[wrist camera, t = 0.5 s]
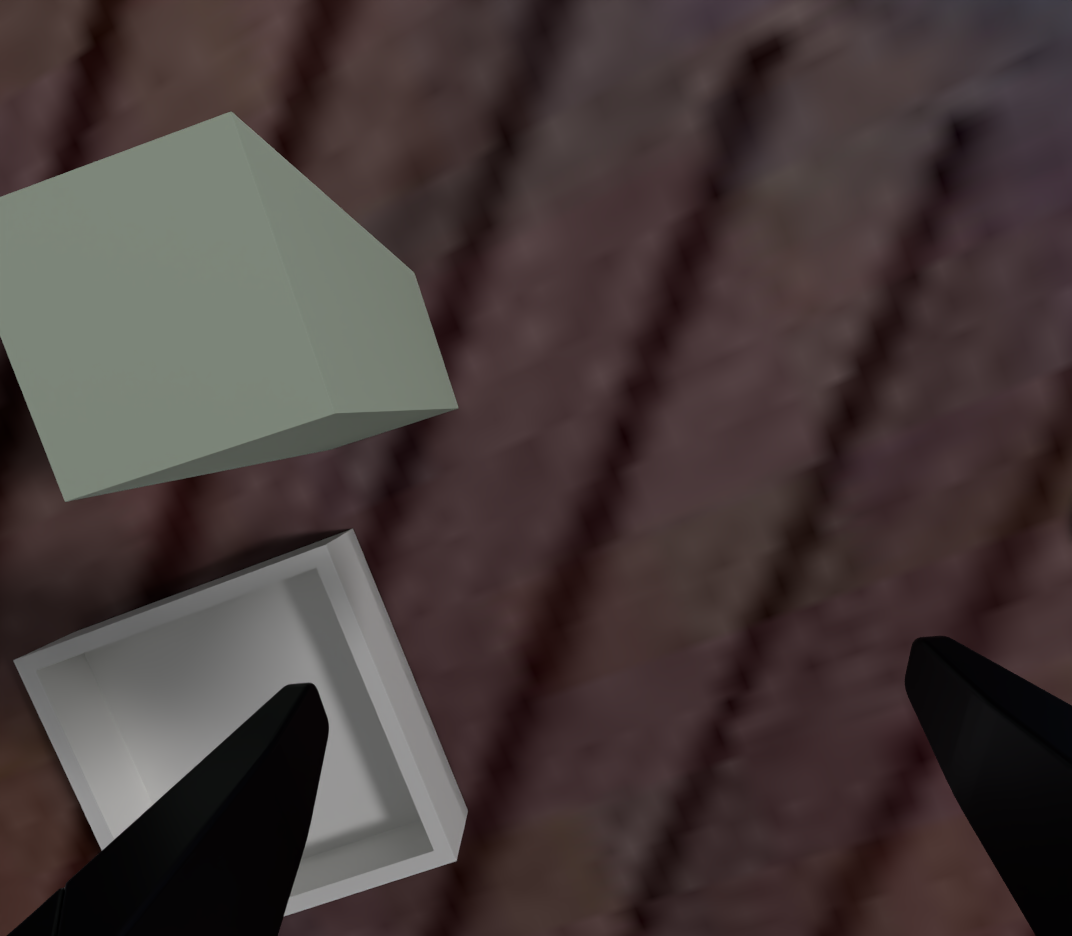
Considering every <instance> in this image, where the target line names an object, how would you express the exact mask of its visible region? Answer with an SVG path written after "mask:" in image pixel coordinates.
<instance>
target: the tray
mask: <svg viewBox="0 0 1072 936" xmlns="http://www.w3.org/2000/svg"><path fill="white" fill-rule="evenodd" d="M13 661H14V663H15V666H16V668H17V670H18V672H19V674H20V676H21V678H22V681H23V683H24V685H25V687H26V689H27V691H28V693H29V696H30V698H31V700H32V702H33V704H34V706H35V708H36V711H37V713H38V715H39V717H40V719H41V721H42V723H43V726H44V728H45V730H46V732H47V734H48V736H49V738H50V741H51V743H52V745H53V747H54V749H55V751H56V753H57V756H58V758H59V760H60V762H61V764H62V766H63V768H64V771H65V773H66V775H67V777H68V779H69V781H70V783H71V786H72V788H73V790H74V792H75V794H76V796H77V798H78V801H79V803H80V805H81V807H82V809H83V811H84V813H85V816H86V818H87V820H88V822H89V824H90V826H91V828H92V831H93V833H94V835H95V837H96V839H97V841H98V843H99V846H100V848H101V850H103V849H104V848H105V847H107V846H108V845H109V844H110V843H111V842H112V841H113V840H114V839H115V838H117V837H118V836H119V835H120V834H121V833H122V832H123V831H124V830H125V829H127V828H128V827H129V826H130V825H131V824H132V823H133V822H134V821H135V820H136V819H138V818H139V817H140V816H141V815H142V814H143V813H144V812H145V811H146V810H148V809H149V808H150V807H151V806H152V805H153V804H154V803H155V802H156V801H158V800H159V799H160V798H161V797H162V796H163V795H164V794H165V793H166V792H167V791H169V790H170V789H171V788H172V787H173V786H174V785H175V784H176V783H177V782H179V781H180V780H181V779H182V778H183V777H184V776H185V775H186V774H187V773H189V772H190V771H191V770H192V769H193V768H194V767H195V766H196V765H197V764H199V763H200V762H201V761H202V760H203V759H204V758H205V757H206V756H207V755H208V754H210V753H211V752H212V751H213V750H214V749H215V748H216V747H217V746H218V745H220V744H221V743H222V742H223V741H224V740H225V739H226V738H227V737H228V736H230V735H231V734H232V733H233V732H234V731H235V730H236V729H237V728H238V727H240V726H241V725H242V724H243V723H244V722H245V721H246V720H247V719H248V718H249V717H251V716H252V715H253V714H254V713H255V712H256V711H257V710H258V709H259V708H261V707H262V706H263V705H264V704H265V703H266V702H267V701H268V700H269V699H271V698H272V697H273V696H274V695H275V694H276V693H277V692H278V691H279V690H280V689H282V688H283V687H284V686H286V685H288V684H296V683H313V684H314V685H315V686H316V687H317V689H318V692H319V695H320V698H321V701H322V703H323V706H324V709H325V712H326V715H327V718H328V722H329V735H328V741H327V746H326V751H325V756H324V761H323V766H322V771H321V776H320V781H319V785H318V790H317V795H316V800H315V805H314V810H313V815H312V820H311V825H310V829H309V833H308V838H307V841H306V845H305V848H304V852H303V855H302V858H301V862H300V865H299V868H298V871H297V875H296V878H295V881H294V884H293V888H292V891H291V894H290V897H289V900H288V904H287V907H286V910H285V913H284V916H286V915H290V914H293V913H296V912H299V911H302V910H305V909H308V908H311V907H314V906H318V905H321V904H324V903H327V902H330V901H333V900H336V899H339V898H342V897H346V896H349V895H352V894H355V893H358V892H361V891H364V890H367V889H371V888H374V887H377V886H380V885H383V884H386V883H389V882H392V881H395V880H399V879H402V878H405V877H408V876H411V875H414V874H417V873H420V872H423V871H427V870H430V869H433V868H436V867H439V866H442V865H445V864H448V863H452V862H455V861H457V856H458V852H459V848H460V843H461V839H462V835H463V830H464V826H465V822H466V817H467V813H468V810H467V807H466V805H465V802H464V800H463V797H462V795H461V793H460V790H459V788H458V785H457V783H456V780H455V778H454V775H453V773H452V770H451V768H450V766H449V763H448V761H447V758H446V756H445V753H444V751H443V748H442V746H441V743H440V741H439V739H438V736H437V734H436V731H435V729H434V726H433V724H432V721H431V719H430V717H429V714H428V712H427V709H426V707H425V704H424V702H423V699H422V697H421V694H420V692H419V690H418V687H417V685H416V682H415V680H414V677H413V675H412V672H411V670H410V667H409V665H408V663H407V660H406V658H405V655H404V653H403V650H402V648H401V645H400V643H399V641H398V638H397V636H396V633H395V631H394V628H393V626H392V623H391V621H390V618H389V616H388V614H387V611H386V609H385V606H384V604H383V601H382V599H381V596H380V594H379V592H378V589H377V587H376V584H375V582H374V579H373V577H372V574H371V572H370V569H369V567H368V565H367V562H366V560H365V557H364V555H363V552H362V550H361V547H360V545H359V542H358V540H357V538H356V535H355V533H354V530H353V529H350V530H348V531H345V532H342V533H339V534H337V535H334V536H331V537H329V538H326V539H323V540H321V541H318V542H315V543H313V544H310V545H307V546H304V547H302V548H299V549H296V550H294V551H291V552H288V553H286V554H283V555H280V556H278V557H275V558H272V559H269V560H267V561H264V562H261V563H259V564H256V565H253V566H251V567H248V568H245V569H243V570H240V571H237V572H234V573H232V574H229V575H226V576H224V577H221V578H218V579H216V580H213V581H210V582H208V583H205V584H202V585H199V586H197V587H194V588H191V589H189V590H186V591H183V592H181V593H178V594H175V595H173V596H170V597H167V598H164V599H162V600H159V601H156V602H154V603H151V604H148V605H146V606H143V607H140V608H138V609H135V610H132V611H129V612H127V613H124V614H121V615H119V616H116V617H113V618H111V619H108V620H105V621H103V622H100V623H97V624H94V625H92V626H89V627H86V628H84V629H81V630H78V631H76V632H73V633H71V634H69V635H67V636H64V637H62V638H60V639H58V640H56V641H54V642H52V643H49V644H47V645H45V646H43V647H41V648H39V649H37V650H35V651H32V652H30V653H28V654H26V655H24V656H22V657H20V658H17V659H15V660H13Z"/></svg>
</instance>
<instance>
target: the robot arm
mask: <svg viewBox="0 0 1072 936" xmlns="http://www.w3.org/2000/svg"><path fill="white" fill-rule="evenodd" d="M905 688H906V692H907V695H908V698H909V700H910V702H911V704H912V706H913V708H914V711H915V713H916V715H917V717H918V719H919V721H920V724H921V726H922V728H923V730H924V732H925V734H926V737H927V739H928V741H929V743H930V745H931V747H932V750H933V752H934V754H935V756H936V758H937V760H938V763H939V765H940V767H941V769H942V771H943V773H944V776H945V778H946V780H947V782H948V784H949V786H950V788H951V790H952V792H953V794H954V796H955V798H956V800H957V802H958V803H959V805H960V807H961V809H962V811H963V812H964V814H965V816H966V818H967V819H968V821H969V823H970V824H971V826H972V828H973V830H974V831H975V833H976V835H977V836H978V838H979V840H980V841H981V843H982V845H983V847H984V848H985V850H986V852H987V853H988V855H989V857H990V858H991V860H992V862H993V864H994V865H995V867H996V869H997V870H998V872H999V874H1000V876H1001V877H1002V879H1003V881H1004V882H1005V884H1006V886H1007V887H1008V889H1009V891H1010V893H1011V894H1012V896H1013V898H1014V899H1015V901H1016V903H1017V904H1018V906H1019V908H1020V910H1021V911H1022V913H1023V915H1024V916H1025V918H1026V920H1027V922H1028V923H1029V925H1030V927H1031V928H1032V930H1033V932H1034V933H1035V935H1036V936H1072V705H1070V704H1068V703H1066V702H1064V701H1063V700H1061V699H1059V698H1057V697H1055V696H1054V695H1052V694H1050V693H1048V692H1046V691H1045V690H1043V689H1041V688H1039V687H1037V686H1036V685H1034V684H1032V683H1030V682H1028V681H1027V680H1025V679H1023V678H1021V677H1020V676H1018V675H1016V674H1014V673H1012V672H1011V671H1009V670H1007V669H1005V668H1003V667H1002V666H1000V665H998V664H996V663H994V662H993V661H991V660H989V659H987V658H985V657H984V656H982V655H980V654H978V653H976V652H975V651H973V650H971V649H969V648H967V647H966V646H964V645H962V644H960V643H958V642H957V641H955V640H953V639H951V638H949V637H946V636H932V637H920V638H917V639H916V640H915V641H914V642H913V644H912V647H911V652H910V656H909V661H908V665H907V670H906V675H905ZM328 735H329V722H328V718H327V715H326V712H325V709H324V706H323V703H322V701H321V698H320V695H319V692H318V689H317V687H316V686H315V685H314V684H313V683H296V684H288V685H286V686H284V687H283V688H282V689H280V690H279V691H278V692H277V693H276V694H275V695H274V696H273V697H272V698H271V699H269V700H268V701H267V702H266V703H265V704H264V705H263V706H262V707H261V708H259V709H258V710H257V711H256V712H255V713H254V714H253V715H252V716H251V717H249V718H248V719H247V720H246V721H245V722H244V723H243V724H242V725H241V726H240V727H238V728H237V729H236V730H235V731H234V732H233V733H232V734H231V735H230V736H228V737H227V738H226V739H225V740H224V741H223V742H222V743H221V744H220V745H218V746H217V747H216V748H215V749H214V750H213V751H212V752H211V753H210V754H208V755H207V756H206V757H205V758H204V759H203V760H202V761H201V762H200V763H199V764H197V765H196V766H195V767H194V768H193V769H192V770H191V771H190V772H189V773H187V774H186V775H185V776H184V777H183V778H182V779H181V780H180V781H179V782H177V783H176V784H175V785H174V786H173V787H172V788H171V789H170V790H169V791H167V792H166V793H165V794H164V795H163V796H162V797H161V798H160V799H159V800H158V801H156V802H155V803H154V804H153V805H152V806H151V807H150V808H149V809H148V810H146V811H145V812H144V813H143V814H142V815H141V816H140V817H139V818H138V819H136V820H135V821H134V822H133V823H132V824H131V825H130V826H129V827H128V828H127V829H125V830H124V831H123V832H122V833H121V834H120V835H119V836H118V837H117V838H115V839H114V840H113V841H112V842H111V843H110V844H109V845H108V846H107V847H105V848H104V849H103V850H102V851H101V852H100V853H99V854H98V855H97V856H95V857H94V858H93V859H92V860H91V861H90V862H89V863H88V864H87V865H86V866H84V867H83V868H82V869H81V870H80V871H79V872H78V873H77V874H76V875H74V876H73V877H72V878H71V879H70V880H69V881H68V882H67V883H66V886H65V888H60V889H59V890H58V891H56V892H55V893H54V894H53V895H52V896H51V897H50V898H49V899H48V900H46V901H45V902H44V903H43V904H42V905H41V906H40V907H39V908H38V909H37V910H35V911H34V912H33V913H32V914H31V915H30V916H29V917H28V918H26V919H25V920H24V921H23V922H22V923H21V924H20V925H18V926H17V927H16V928H15V929H14V930H13V931H12V932H10V933H9V934H8V935H7V936H278V933H279V930H280V926H281V923H282V920H283V917H284V913H285V910H286V907H287V904H288V900H289V897H290V894H291V891H292V888H293V884H294V881H295V878H296V875H297V871H298V868H299V865H300V862H301V858H302V855H303V852H304V848H305V845H306V841H307V838H308V833H309V829H310V825H311V820H312V815H313V810H314V805H315V800H316V795H317V790H318V785H319V781H320V776H321V771H322V766H323V761H324V756H325V751H326V746H327V741H328Z"/></svg>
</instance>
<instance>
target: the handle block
mask: <svg viewBox="0 0 1072 936" xmlns="http://www.w3.org/2000/svg"><path fill="white" fill-rule="evenodd" d="M0 337H1V339H2V342H3V344H4V347H5V349H6V352H7V355H8V357H9V360H10V362H11V365H12V367H13V370H14V372H15V375H16V378H17V380H18V383H19V385H20V388H21V390H22V393H23V396H24V398H25V401H26V403H27V406H28V408H29V411H30V413H31V416H32V419H33V421H34V424H35V426H36V429H37V431H38V434H39V436H40V439H41V442H42V444H43V447H44V449H45V452H46V454H47V457H48V460H49V462H50V465H51V467H52V470H53V472H54V475H55V477H56V480H57V483H58V485H59V488H60V490H61V493H62V495H63V498H64V500H65V502H67V501H72V500H77V499H82V498H87V497H92V496H97V495H102V494H107V493H113V492H118V491H123V490H128V489H133V488H138V487H143V486H148V485H153V484H158V483H163V482H168V481H174V480H179V479H184V478H189V477H194V476H199V475H204V474H209V473H214V472H219V471H224V470H229V469H235V468H240V467H245V466H250V465H255V464H260V463H265V462H270V461H275V460H280V459H285V458H290V457H296V456H301V455H306V454H311V453H316V452H321V451H326V450H331V449H334V448H337V447H340V446H343V445H346V444H349V443H352V442H355V441H359V440H362V439H365V438H368V437H371V436H374V435H377V434H380V433H383V432H386V431H390V430H393V429H396V428H399V427H402V426H405V425H408V424H411V423H414V422H417V421H421V420H424V419H427V418H430V417H433V416H436V415H439V414H442V413H445V412H448V411H452V410H455V409H458V405H457V402H456V399H455V396H454V393H453V390H452V387H451V384H450V381H449V378H448V374H447V371H446V368H445V365H444V362H443V359H442V356H441V353H440V350H439V347H438V344H437V341H436V338H435V335H434V332H433V329H432V326H431V323H430V320H429V316H428V313H427V310H426V307H425V304H424V301H423V298H422V295H421V292H420V289H419V286H418V283H417V280H416V277H415V274H414V272H413V271H412V270H411V269H409V268H408V267H407V266H406V265H405V264H404V263H403V262H401V261H400V260H399V259H398V258H397V257H396V256H395V255H394V254H392V253H391V252H390V251H389V250H388V249H387V248H386V247H384V246H383V245H382V244H381V243H380V242H379V241H378V240H376V239H375V238H374V237H373V236H372V235H371V234H370V233H369V232H367V231H366V230H365V229H364V228H363V227H362V226H361V225H359V224H358V223H357V222H356V221H355V220H354V219H353V218H352V217H350V216H349V215H348V214H347V213H346V212H345V211H344V210H342V209H341V208H340V207H339V206H338V205H337V204H336V203H335V202H333V201H332V200H331V199H330V198H329V197H328V196H327V195H325V194H324V193H323V192H322V191H321V190H320V189H319V188H318V187H316V186H315V185H314V184H313V183H312V182H311V181H310V180H308V179H307V178H306V177H305V176H304V175H303V174H302V173H300V172H299V171H298V170H297V169H296V168H295V167H294V166H293V165H291V164H290V163H289V162H288V161H287V160H286V159H285V158H283V157H282V156H281V155H280V154H279V153H278V152H277V151H276V150H274V149H273V148H272V147H271V146H270V145H269V144H268V143H266V142H265V141H264V140H263V139H262V138H261V137H260V136H259V135H257V134H256V133H255V132H254V131H253V130H252V129H251V128H249V127H248V126H247V125H246V124H245V123H244V122H243V121H241V120H240V119H239V118H238V117H237V116H236V115H235V114H234V113H232V112H228V113H226V114H223V115H220V116H218V117H215V118H212V119H210V120H207V121H204V122H201V123H199V124H196V125H193V126H191V127H188V128H185V129H183V130H180V131H177V132H175V133H172V134H169V135H166V136H164V137H161V138H158V139H156V140H153V141H150V142H148V143H145V144H142V145H139V146H137V147H134V148H131V149H129V150H126V151H123V152H121V153H118V154H115V155H113V156H110V157H107V158H104V159H102V160H99V161H96V162H94V163H91V164H88V165H86V166H83V167H80V168H77V169H75V170H72V171H69V172H67V173H64V174H61V175H59V176H56V177H53V178H51V179H48V180H45V181H42V182H40V183H37V184H34V185H32V186H29V187H26V188H24V189H21V190H18V191H15V192H13V193H10V194H7V195H5V196H2V197H0Z"/></svg>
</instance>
